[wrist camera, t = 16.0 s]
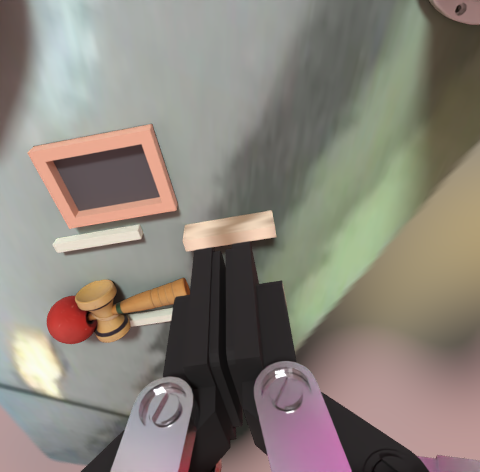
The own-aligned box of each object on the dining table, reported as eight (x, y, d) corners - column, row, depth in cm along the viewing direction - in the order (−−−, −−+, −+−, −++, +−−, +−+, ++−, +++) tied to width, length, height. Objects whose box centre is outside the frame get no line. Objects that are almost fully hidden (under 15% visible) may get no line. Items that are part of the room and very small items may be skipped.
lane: (271, 210, 42) (274, 225, 40) (284, 291, 50) (287, 308, 48) (185, 225, 43) (182, 240, 41) (210, 302, 51) (209, 319, 48)
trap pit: (152, 123, 36) (149, 129, 35) (177, 202, 41) (176, 210, 40) (33, 146, 37) (27, 152, 36) (73, 220, 42) (69, 228, 41)
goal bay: (139, 224, 43) (137, 230, 42) (176, 313, 52) (175, 320, 51) (56, 238, 44) (52, 244, 43) (106, 323, 53) (104, 330, 52)
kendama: (174, 248, 47) (36, 289, 47) (179, 287, 43) (26, 334, 43) (192, 283, 53) (69, 320, 53) (198, 322, 48) (63, 362, 48)
